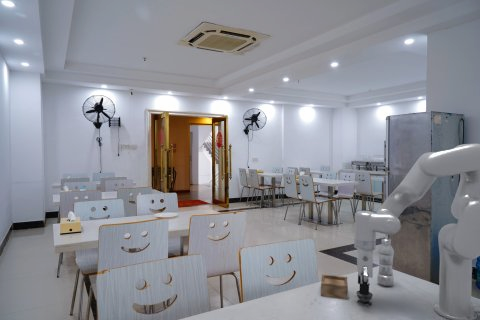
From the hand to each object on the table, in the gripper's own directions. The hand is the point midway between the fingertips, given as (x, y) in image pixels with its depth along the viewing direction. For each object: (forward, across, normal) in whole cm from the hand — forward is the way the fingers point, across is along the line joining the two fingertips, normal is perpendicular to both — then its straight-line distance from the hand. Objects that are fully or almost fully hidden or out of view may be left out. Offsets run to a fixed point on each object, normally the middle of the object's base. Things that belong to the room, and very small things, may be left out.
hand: (363, 289), depth 123 cm
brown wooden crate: (+6, +6, +10) cm, 13 cm away
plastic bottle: (+5, +21, -11) cm, 24 cm away
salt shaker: (+6, 0, -1) cm, 6 cm away
